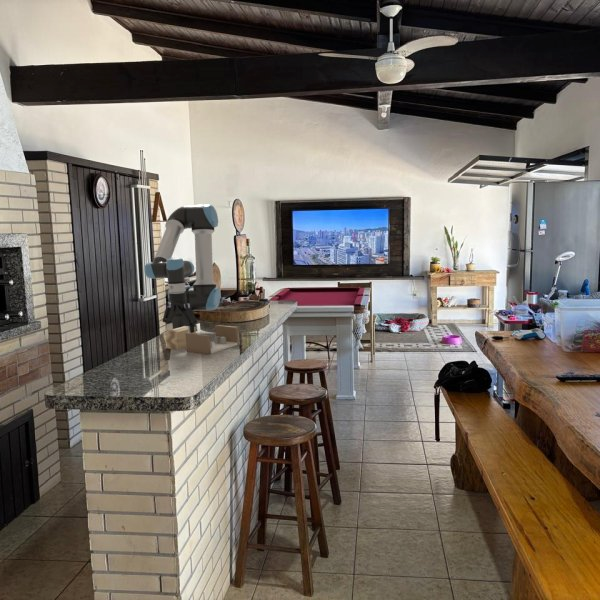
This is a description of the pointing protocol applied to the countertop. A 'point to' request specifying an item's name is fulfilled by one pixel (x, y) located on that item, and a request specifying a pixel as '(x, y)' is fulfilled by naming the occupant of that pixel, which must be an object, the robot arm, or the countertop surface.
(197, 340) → the peg stand
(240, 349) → the countertop surface
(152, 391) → the countertop surface
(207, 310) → the robot arm
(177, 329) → the shelf block
